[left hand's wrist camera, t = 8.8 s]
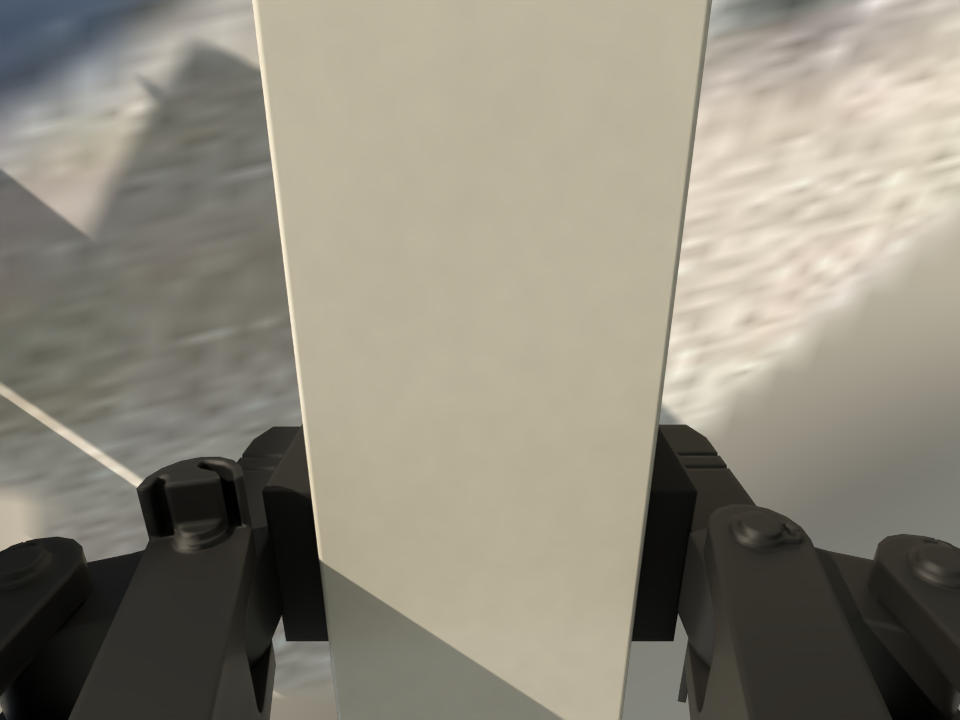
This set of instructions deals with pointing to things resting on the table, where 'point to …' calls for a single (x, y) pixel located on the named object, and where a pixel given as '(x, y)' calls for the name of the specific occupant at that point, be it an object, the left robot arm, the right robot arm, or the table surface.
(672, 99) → the bar
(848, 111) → the table surface
